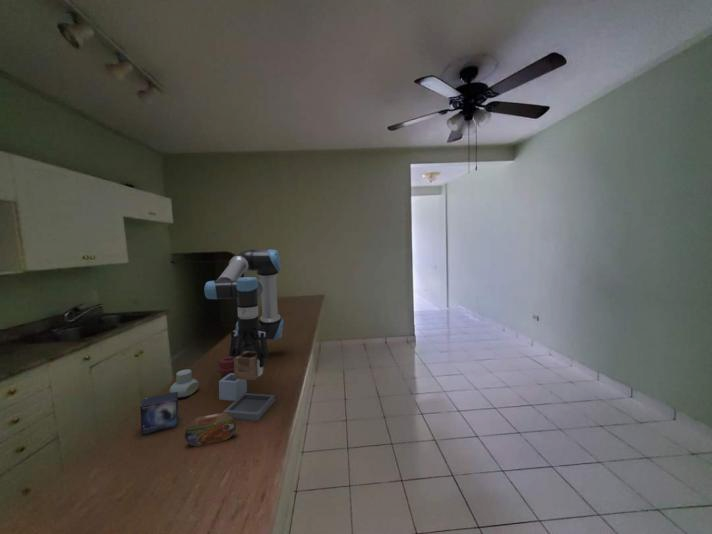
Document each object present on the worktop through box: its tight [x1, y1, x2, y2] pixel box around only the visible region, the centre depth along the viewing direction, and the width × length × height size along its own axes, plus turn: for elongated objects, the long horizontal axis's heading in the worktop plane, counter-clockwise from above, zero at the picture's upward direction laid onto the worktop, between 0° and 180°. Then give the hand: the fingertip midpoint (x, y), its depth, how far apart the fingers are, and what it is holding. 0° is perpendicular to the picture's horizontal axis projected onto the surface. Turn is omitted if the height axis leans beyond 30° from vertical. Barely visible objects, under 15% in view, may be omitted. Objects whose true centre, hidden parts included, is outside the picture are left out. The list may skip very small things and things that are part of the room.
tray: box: [222, 392, 276, 422], centre depth 111 cm, size 14×14×2 cm
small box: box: [139, 392, 180, 436], centre depth 100 cm, size 11×6×10 cm, turn 118°
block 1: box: [218, 373, 248, 402], centre depth 122 cm, size 8×8×8 cm
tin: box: [184, 412, 237, 447], centre depth 92 cm, size 15×3×8 cm, turn 108°
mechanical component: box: [216, 355, 234, 380], centre depth 134 cm, size 12×10×10 cm
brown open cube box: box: [234, 351, 265, 381], centre depth 110 cm, size 8×8×8 cm
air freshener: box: [169, 368, 200, 398], centre depth 123 cm, size 11×8×10 cm
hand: (249, 374), depth 110 cm, fingers closed on brown open cube box, 8 cm apart
